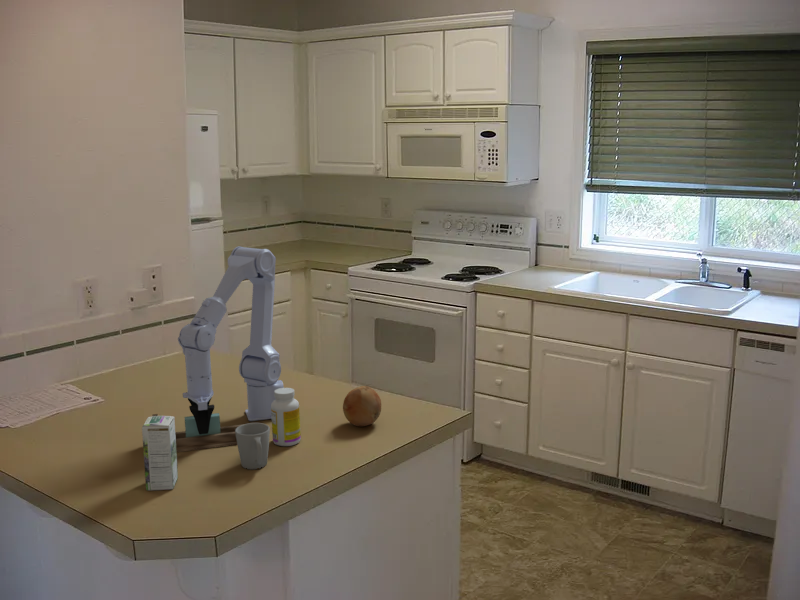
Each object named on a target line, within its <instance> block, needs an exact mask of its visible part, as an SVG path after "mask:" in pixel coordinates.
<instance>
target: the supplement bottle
mask: <svg viewBox="0 0 800 600" xmlns="http://www.w3.org/2000/svg"><path fill="white" fill-rule="evenodd" d="M274 396H275V398H276V400H274V401H273V402H272V404H271V417H272V419H271V434H272V441H273V444H275V446H281V447H291V446H295V445H297V444H299V443H300V441H301V439H302V437H301V418H300V417H301V416H300V415H301V413H300V404H299V403H300V402H299V401H298V400H297V399H296V398H295V389H294V388H293V387H292V388H291V387H284V388H279V389H276V390H275V391H274Z"/></svg>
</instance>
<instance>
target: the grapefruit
mask: <svg viewBox="0 0 800 600" xmlns="http://www.w3.org/2000/svg"><path fill="white" fill-rule="evenodd" d="M342 412H343V414H344V417H345V418H346V420H347V421H348V422H349V423H350V424H352V425H353V426H356V427H360V428H361V427H366V426H370V425H372V424H374V423H375V422H376V421H377V420H378V419H379V417H380V415H381V412H382V399H381V397H380V395H379V394H378V392H377V391H376V390H375V389H374V388H372V387H370V386H369V385H360V386H357V387H355V388H353V389H352V390H350V391H349V392H348V393H347V394H346V395H345V398H344V399H343V402H342Z"/></svg>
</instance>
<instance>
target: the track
mask: <svg viewBox="0 0 800 600" xmlns="http://www.w3.org/2000/svg"><path fill="white" fill-rule="evenodd" d="M152 416H159V415H158V413H155V414H152V415H151V417H152ZM241 425H244V424H243V423H242V424H235V425H227V426H220V431H221V433H220V434H211V435H203V436H194V437H186V431H183V430H182V431H175V435H176V452H177V453H182V452H188V451H189V452H190V451H195V450H196V451H197V450H206V448H207V449H212V448H213V447H215V448H221V447H220V446H223V447H229V445H231V446H238V445H237V439H236V434H235V430H236V428H237V427H239V426H241ZM213 449H214V448H213Z"/></svg>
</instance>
